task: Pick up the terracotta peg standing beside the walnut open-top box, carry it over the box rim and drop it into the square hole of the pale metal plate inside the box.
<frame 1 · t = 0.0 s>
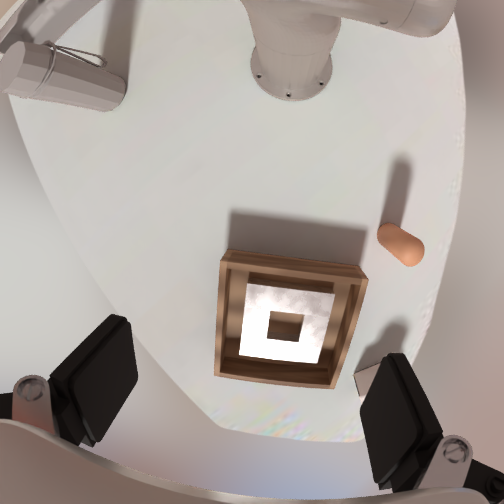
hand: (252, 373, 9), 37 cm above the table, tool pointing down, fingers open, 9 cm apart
medicine bottle: (372, 377, 52), on the table
bore plate: (285, 323, 47), in the open box, point 2 cm above the table
water bottle: (113, 89, 41), on the table
open box: (285, 316, 50), on the table
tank: (61, 15, 35), on the table
peg: (387, 234, 44), on the table
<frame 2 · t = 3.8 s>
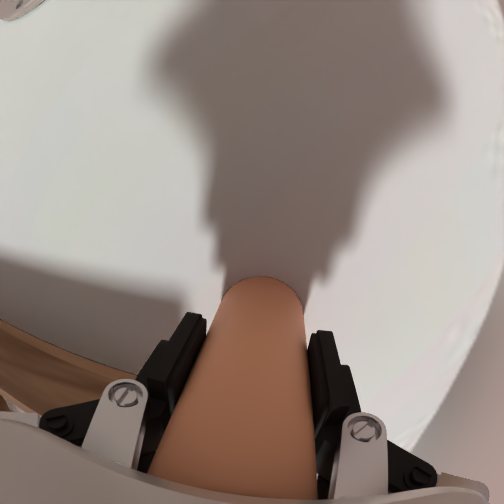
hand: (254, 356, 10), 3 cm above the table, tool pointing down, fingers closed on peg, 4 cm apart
open box: (84, 431, 20), on the table
peg: (261, 315, 14), on the table, touching gripper
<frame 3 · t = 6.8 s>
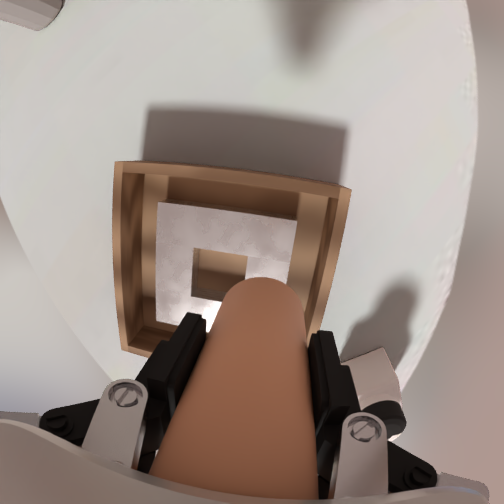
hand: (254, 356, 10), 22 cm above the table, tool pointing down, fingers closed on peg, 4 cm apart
medicine bottle: (364, 371, 36), on the table
bore plate: (220, 272, 31), in the open box, point 2 cm above the table
water bottle: (51, 9, 23), on the table
open box: (224, 265, 33), on the table
peg: (261, 315, 14), point 18 cm above the table, touching gripper
when the fingers open (5 cm above the table, at t = 10.0 s): peg stays where it is, resting on open box.
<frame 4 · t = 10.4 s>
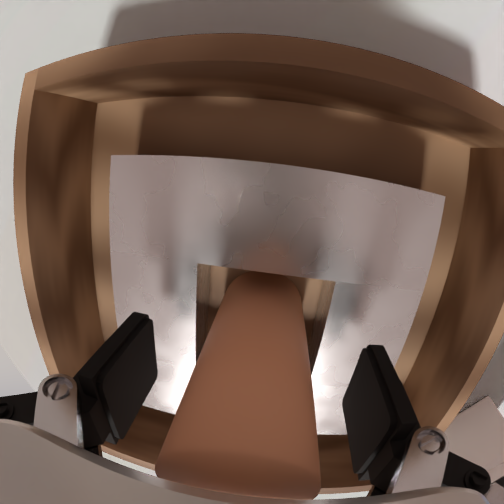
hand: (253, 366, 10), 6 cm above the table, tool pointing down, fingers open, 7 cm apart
medicine bottle: (456, 428, 18), on the table
bore plate: (260, 318, 13), in the open box, point 2 cm above the table
open box: (263, 297, 15), on the table
peg: (262, 306, 15), point 1 cm above the table, touching open box
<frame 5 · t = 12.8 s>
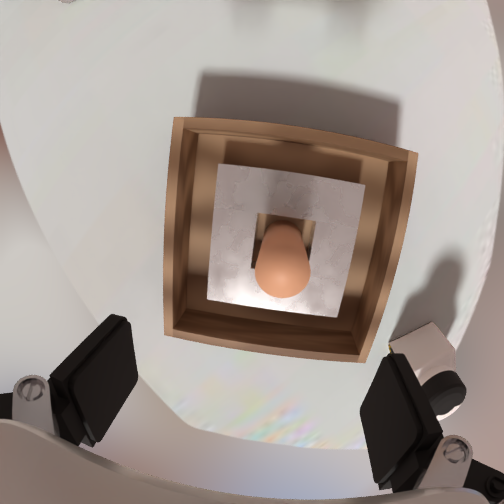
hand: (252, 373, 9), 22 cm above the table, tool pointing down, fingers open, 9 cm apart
medicine bottle: (413, 349, 34), on the table
bore plate: (282, 242, 29), in the open box, point 2 cm above the table
open box: (282, 236, 31), on the table
peg: (282, 239, 30), point 1 cm above the table, touching open box
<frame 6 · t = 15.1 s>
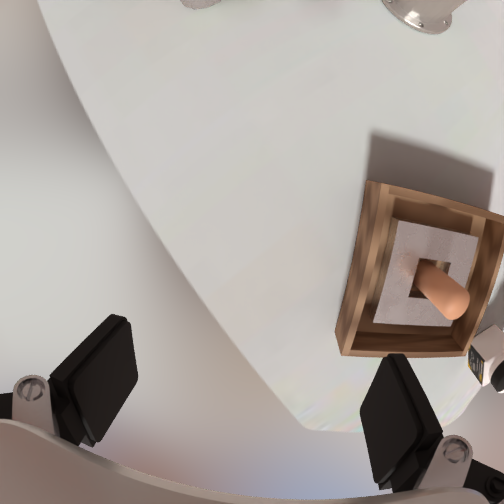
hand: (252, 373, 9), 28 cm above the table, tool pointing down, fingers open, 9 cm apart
medicine bottle: (480, 344, 39), on the table
bore plate: (426, 276, 34), in the open box, point 2 cm above the table
open box: (420, 270, 36), on the table
peg: (422, 273, 35), point 1 cm above the table, touching open box
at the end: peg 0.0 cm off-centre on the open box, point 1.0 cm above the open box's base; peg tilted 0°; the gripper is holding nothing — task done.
